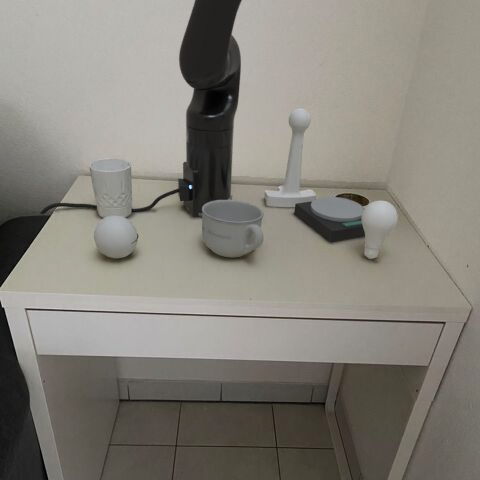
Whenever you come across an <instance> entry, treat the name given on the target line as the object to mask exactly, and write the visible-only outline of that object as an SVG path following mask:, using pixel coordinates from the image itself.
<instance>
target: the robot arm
mask: <svg viewBox="0 0 480 480" xmlns="http://www.w3.org/2000/svg"><path fill="white" fill-rule="evenodd" d="M242 2H243V0H194V3H193V6H192V9H191V13H190V15H189V18H188V21H187V25H186V28H185V31H184V33H183V36H182V37H183V38H182V41H181V44H180V48H179V52H178V65H179V70H180V74H181V77H182V78H183V80H184V81H185V82H186V84H187V85H188V86H189V87H191V88H192V89H193V92H192V97H191V99H190V102H189V104H188V106H187V109H186V110H185V111H186V112H185V153H186V155H185V158H186V161H183V163H182V178H178V179H177V186H178V188H176V189H172V190H170V191H167V192H165V193H163V194H161V195H159V196H157V197H156V198H155V199H154V200H153V201H152V202H151V203H150V204H149V205H147V206H144V207H140V208H139V207H138V208H132V212H131V213H141V212H142V213H143V212H146V211H150V210H151V209H153V208H154V207H155V206H156V205H157V204H158V203H159V202H160V201H161V200H163V199H165V198H167V197H170V196H172V195H176V194H178V197H179V198H178V199H179V202H183V207H184V208H185V209H186V211H187V212H188V213H189V214H190V215H191V217H193V218H196V217H200V218H201V217H202V214H203V212H202V207H203V205H205V204H206V203H208V202H211V201H216V200H233V195H232V175H233V174H232V173H233V172H232V171H233V153H234V152H233V150H234V149H233V148H234V127H235V117H236V114H237V110H238V106H239V98H240V88H241V87H240V85H241V75H242V74H241V71H242V55H241V50H240V49H241V48H240V46H239V43H238V41H237V40H236V38H235V36H234V35H233V30H234V26H235V22H236V17H237V15H238V12H239V9H240V6H241V4H242ZM59 207H60V208H61V207H63V208H65V207H67V208H86V209H87V208H88V209H92V210H93V209H94V210H97V204H91V203H74V202H73V203H72V202H55V203H52V204H49V205H47V206H45V207H44V208H42V210H41V211H40V212H39V214H40V215H45V214H46V213H47V212H48V211H50V210H51V209H55V208H59Z"/></svg>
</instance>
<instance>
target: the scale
mask: <svg viewBox="0 0 480 480" xmlns="http://www.w3.org/2000/svg"><path fill="white" fill-rule="evenodd" d="M365 208H366V207H364V206H363V205H362V204H360V203H359V202H356V201H354V200H352V199H351V198H349V197H348V196H340V197H337V196H323V197H317V198H316V199H315V200H314V201H311V202H304V203H296V204H295V207H294V212H293V214H294V216H296V218H298V219H299V220H301V221H302V222H304V224H306V225H307V226H309V228H311V229H312V230H314V231H315V232H316V233H317V234H319V235H320V236H321V237H322V238H324V239H325V240H326V241H328V242H329V243H334V242H335V243H336V242H339V241H340V242H341V241H346V240H350V239H351V240H353V239H357V238H363V237H365V231H364V228H363V225H362V221H361V217H362V213H363V211H364V209H365Z"/></svg>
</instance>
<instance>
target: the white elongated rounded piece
mask: <svg viewBox="0 0 480 480" xmlns="http://www.w3.org/2000/svg"><path fill="white" fill-rule="evenodd" d="M138 239H139V233H138V231H137V228H136V226H135V225H134V224H133V222H132V221H131V220H129V219H128V218H127V217H126V218H125V217H122V216H117V215H112V216H108V217H105V218H103V217H102V219H101V220H100V221H99V222H98V223H97V224H96V226H95V228H94V231H93V241H94V243H95V247H96V248H97V249H98V251H99V252H100V253H101V254H102V255H104V256H106V257H107V258H111V259H123V258H126V257H128V256H129V255H130V254H132V253H133V252H134V251H135V248H136V247H137V245H138Z"/></svg>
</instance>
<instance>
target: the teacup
mask: <svg viewBox="0 0 480 480" xmlns="http://www.w3.org/2000/svg"><path fill="white" fill-rule="evenodd" d="M202 212H203V214H202V218H201V237H202V240H203V243H204V244H205V246H207V248H209V249H210V250H211V251H212V253H214V254H216V255H218V256H221V257H225V258H240V257H244V256H245V255H247V254H249V253H251V252H252V251H254V250H256V249H259V248H260V247H262V245H263V243H264V232H263V230H262V225H263V222H262V221H263V217H264V211H263V209H262V208H260V206H257V205H256V204H253V203H250V202H247V201H242V200H237V199H236V200H235V199H232V200H216V201H211V202H208V203H206V204H205V205H203V207H202Z"/></svg>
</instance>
